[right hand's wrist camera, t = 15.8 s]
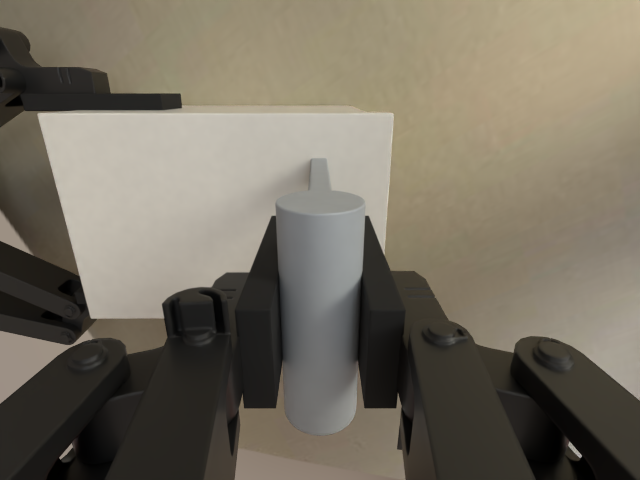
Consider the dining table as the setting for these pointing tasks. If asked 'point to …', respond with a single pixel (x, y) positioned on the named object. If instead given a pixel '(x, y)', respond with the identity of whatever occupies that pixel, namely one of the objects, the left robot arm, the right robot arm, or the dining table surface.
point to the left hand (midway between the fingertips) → (185, 202)
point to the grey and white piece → (231, 223)
